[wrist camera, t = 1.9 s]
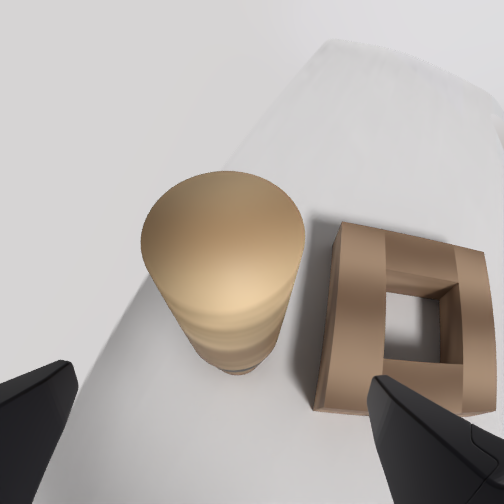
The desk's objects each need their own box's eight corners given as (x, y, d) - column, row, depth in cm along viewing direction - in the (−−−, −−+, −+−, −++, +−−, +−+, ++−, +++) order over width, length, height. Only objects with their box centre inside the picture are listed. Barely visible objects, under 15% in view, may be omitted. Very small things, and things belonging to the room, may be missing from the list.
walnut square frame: (470, 416, 17) (495, 410, 14) (312, 410, 18) (323, 407, 15) (465, 270, 23) (483, 252, 20) (332, 245, 24) (341, 221, 21)
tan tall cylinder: (277, 378, 19) (323, 294, 8) (206, 388, 18) (139, 318, 7) (265, 313, 21) (285, 164, 10) (198, 322, 21) (144, 181, 9)
